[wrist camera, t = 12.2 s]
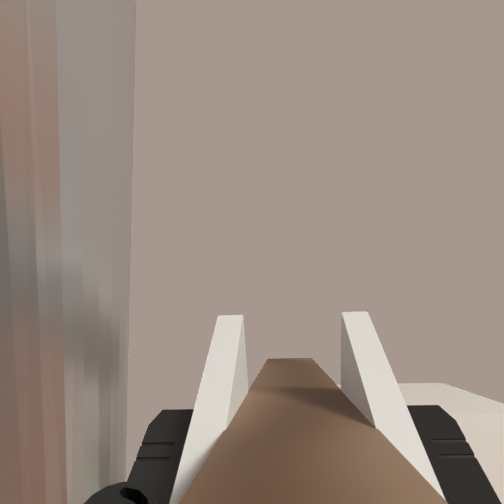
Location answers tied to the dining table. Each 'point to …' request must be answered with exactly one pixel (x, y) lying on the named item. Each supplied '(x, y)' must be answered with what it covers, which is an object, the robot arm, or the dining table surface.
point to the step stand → (468, 423)
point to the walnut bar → (304, 448)
